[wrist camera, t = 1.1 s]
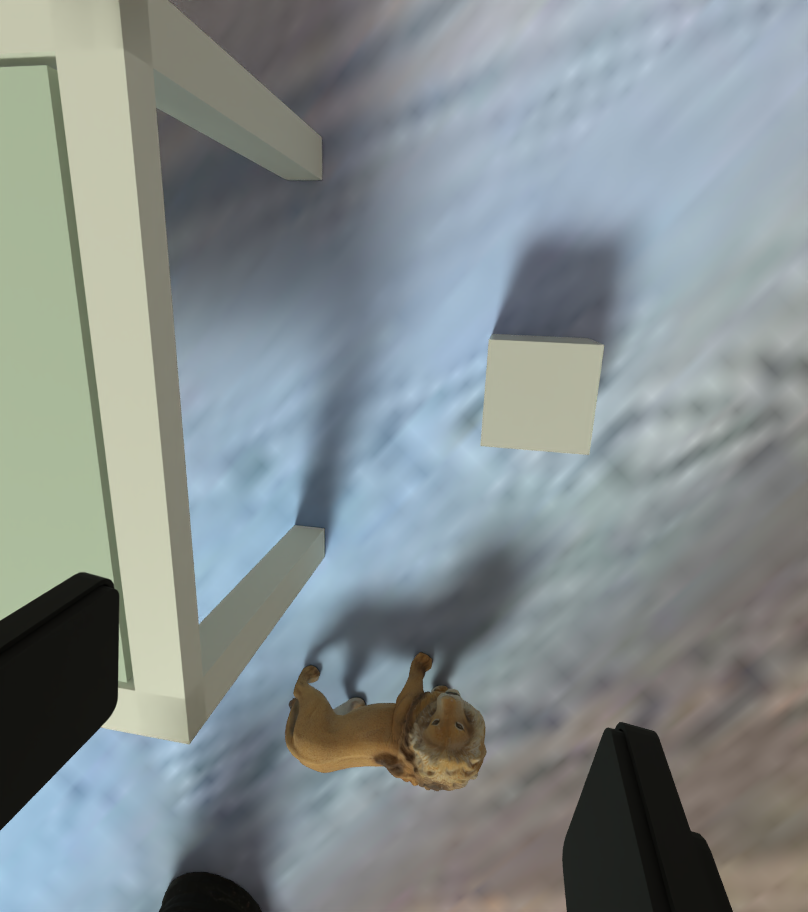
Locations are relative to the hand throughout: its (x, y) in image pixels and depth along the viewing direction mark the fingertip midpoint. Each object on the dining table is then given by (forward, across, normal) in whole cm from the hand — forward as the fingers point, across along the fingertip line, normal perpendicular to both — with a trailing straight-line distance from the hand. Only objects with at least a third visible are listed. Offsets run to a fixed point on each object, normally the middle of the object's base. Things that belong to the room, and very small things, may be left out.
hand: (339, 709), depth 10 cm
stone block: (+22, -4, -4) cm, 23 cm away
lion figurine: (+22, +1, +17) cm, 28 cm away
